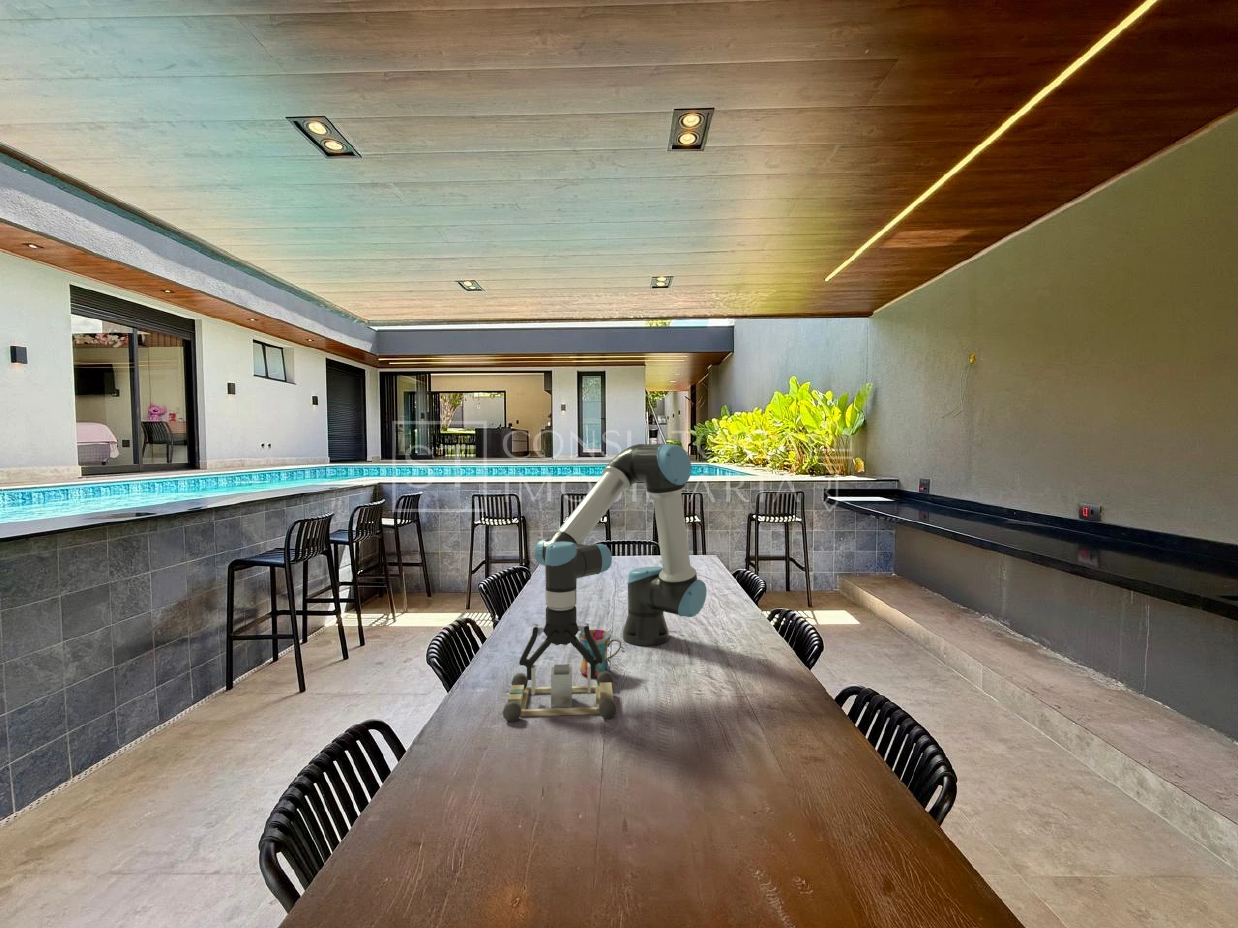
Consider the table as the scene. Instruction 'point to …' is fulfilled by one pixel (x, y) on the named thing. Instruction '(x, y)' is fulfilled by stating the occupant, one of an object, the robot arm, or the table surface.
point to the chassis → (520, 697)
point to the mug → (602, 643)
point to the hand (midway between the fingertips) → (561, 691)
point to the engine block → (561, 686)
